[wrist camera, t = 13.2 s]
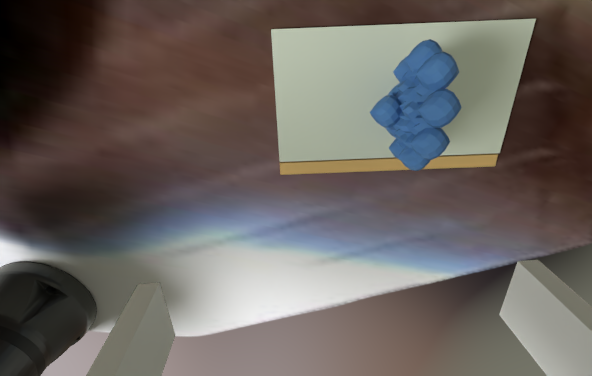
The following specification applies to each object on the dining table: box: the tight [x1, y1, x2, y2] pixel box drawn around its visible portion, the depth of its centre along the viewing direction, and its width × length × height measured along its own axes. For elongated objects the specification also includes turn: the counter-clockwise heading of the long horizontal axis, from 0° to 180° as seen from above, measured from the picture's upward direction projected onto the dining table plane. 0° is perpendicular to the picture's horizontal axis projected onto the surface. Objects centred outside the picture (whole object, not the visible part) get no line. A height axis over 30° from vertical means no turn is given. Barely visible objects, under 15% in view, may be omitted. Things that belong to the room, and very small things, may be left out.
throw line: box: [280, 154, 498, 175], centre depth 38 cm, size 26×2×1 cm, turn 92°
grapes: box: [370, 39, 462, 171], centre depth 29 cm, size 12×7×12 cm, turn 3°
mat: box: [271, 19, 536, 162], centre depth 34 cm, size 26×14×1 cm, turn 92°
